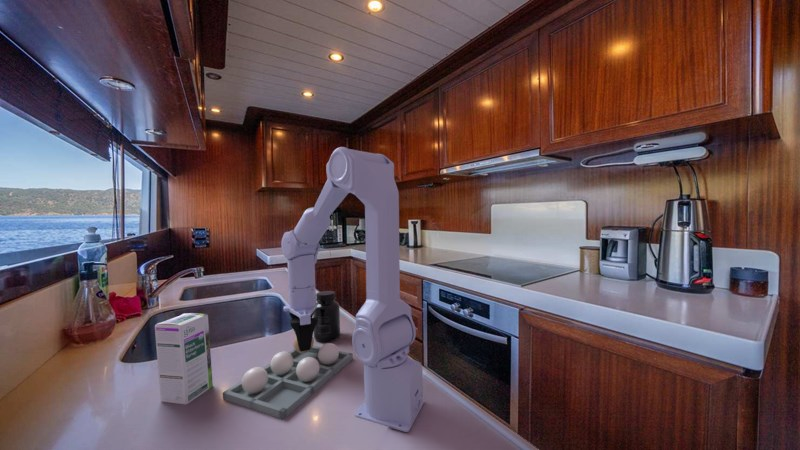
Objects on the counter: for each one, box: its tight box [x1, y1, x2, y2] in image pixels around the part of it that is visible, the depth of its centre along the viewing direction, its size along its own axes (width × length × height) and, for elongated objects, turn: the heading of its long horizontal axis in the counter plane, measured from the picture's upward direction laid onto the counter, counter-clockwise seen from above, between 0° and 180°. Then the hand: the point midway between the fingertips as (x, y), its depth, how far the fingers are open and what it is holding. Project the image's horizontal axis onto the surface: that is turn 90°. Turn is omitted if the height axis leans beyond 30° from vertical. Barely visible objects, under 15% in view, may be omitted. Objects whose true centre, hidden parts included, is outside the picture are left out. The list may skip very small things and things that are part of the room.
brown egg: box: [292, 336, 315, 353], centre depth 67 cm, size 4×4×4 cm
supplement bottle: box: [312, 290, 341, 343], centre depth 78 cm, size 7×7×12 cm
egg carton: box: [222, 342, 354, 420], centre depth 59 cm, size 14×21×5 cm
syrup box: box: [154, 312, 214, 405], centre depth 54 cm, size 6×6×14 cm
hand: (304, 345), depth 67 cm, fingers closed on brown egg, 4 cm apart
